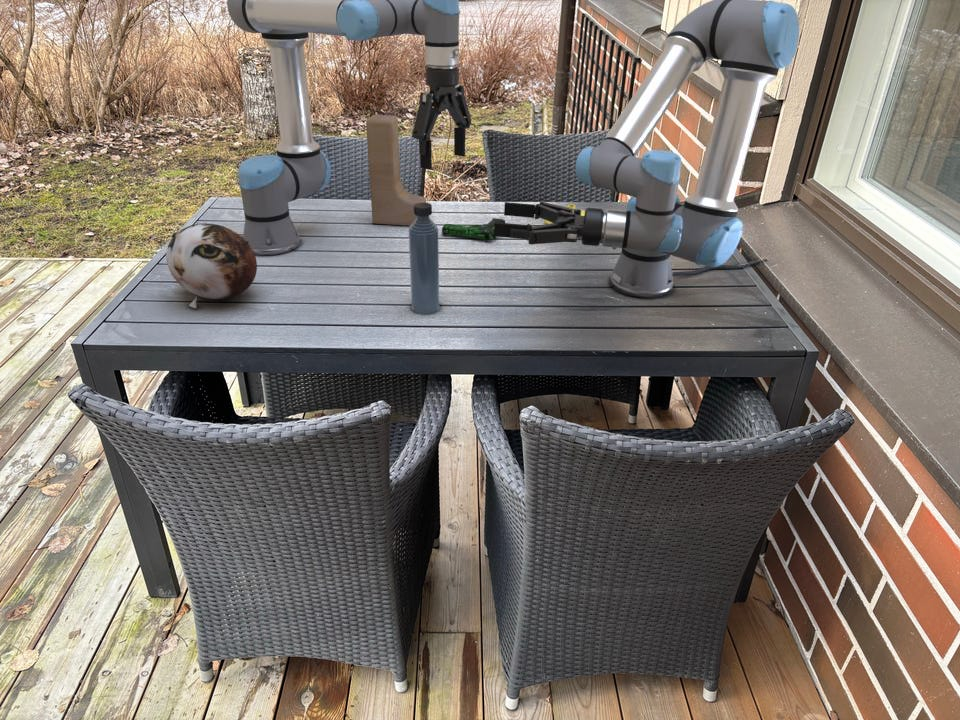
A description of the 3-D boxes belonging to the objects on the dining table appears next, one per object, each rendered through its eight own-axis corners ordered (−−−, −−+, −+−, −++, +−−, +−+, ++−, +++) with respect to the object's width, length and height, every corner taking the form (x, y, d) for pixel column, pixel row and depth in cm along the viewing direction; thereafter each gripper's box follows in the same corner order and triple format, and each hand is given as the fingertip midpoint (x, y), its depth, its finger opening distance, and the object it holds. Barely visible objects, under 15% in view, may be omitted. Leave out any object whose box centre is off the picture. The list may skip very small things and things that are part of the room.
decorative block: (421, 227, 210) (418, 122, 195) (372, 224, 212) (365, 119, 197) (426, 218, 217) (424, 116, 201) (378, 215, 218) (372, 114, 203)
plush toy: (130, 285, 161) (164, 203, 163) (192, 308, 177) (221, 233, 178) (195, 307, 151) (229, 220, 152) (254, 330, 166) (285, 250, 168)
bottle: (439, 313, 163) (437, 212, 151) (411, 314, 163) (407, 212, 150) (439, 301, 168) (437, 202, 156) (412, 301, 168) (408, 202, 156)
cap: (431, 216, 152) (431, 208, 151) (413, 216, 152) (413, 208, 151) (431, 210, 156) (431, 202, 155) (414, 210, 155) (414, 202, 155)
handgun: (511, 219, 210) (493, 234, 198) (511, 228, 211) (492, 244, 199) (461, 212, 215) (440, 226, 203) (461, 221, 217) (440, 236, 204)
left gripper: (421, 75, 148) (424, 176, 159) (486, 61, 166) (485, 153, 177) (393, 71, 151) (397, 171, 162) (460, 58, 169) (460, 148, 180)
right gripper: (598, 267, 137) (489, 257, 139) (602, 225, 158) (507, 217, 161) (603, 230, 133) (490, 220, 136) (606, 192, 154) (509, 184, 157)
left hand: (443, 161), depth 169 cm, fingers open, 13 cm apart
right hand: (499, 218), depth 148 cm, fingers open, 13 cm apart
